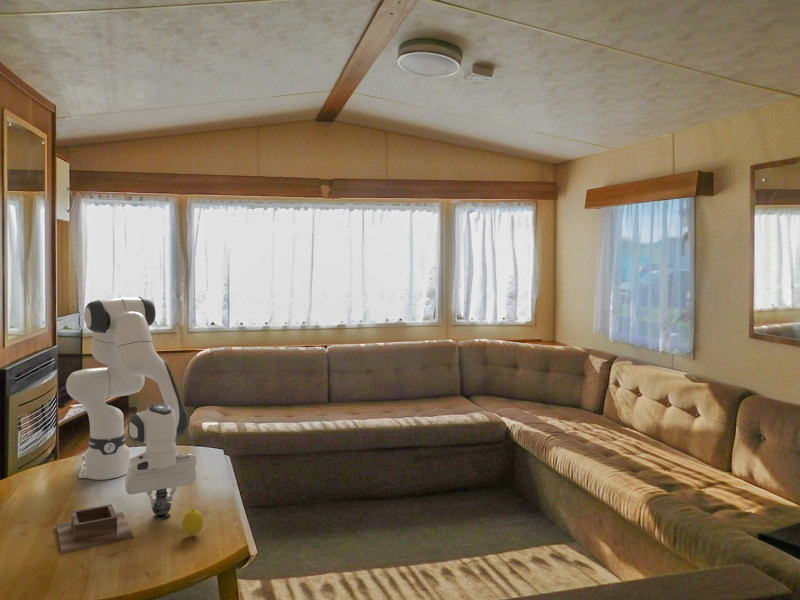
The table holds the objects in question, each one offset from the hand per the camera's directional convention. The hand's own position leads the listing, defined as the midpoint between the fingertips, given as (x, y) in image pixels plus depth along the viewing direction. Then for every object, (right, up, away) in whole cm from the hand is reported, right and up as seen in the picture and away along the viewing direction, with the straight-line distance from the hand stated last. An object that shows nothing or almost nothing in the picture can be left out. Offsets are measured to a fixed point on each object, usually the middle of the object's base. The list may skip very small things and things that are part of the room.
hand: (161, 502), depth 193 cm
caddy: (-15, -5, -11) cm, 20 cm away
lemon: (+14, -6, -12) cm, 19 cm away
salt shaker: (0, -5, 0) cm, 5 cm away
